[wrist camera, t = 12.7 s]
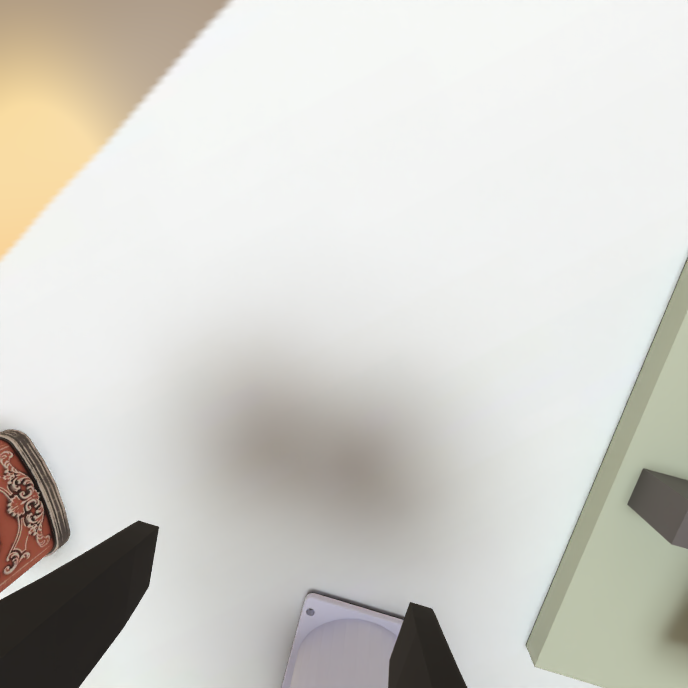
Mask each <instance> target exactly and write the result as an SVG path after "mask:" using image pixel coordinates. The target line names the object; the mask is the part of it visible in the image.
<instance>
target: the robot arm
mask: <svg viewBox="0 0 688 688" xmlns="http://www.w3.org/2000/svg"><path fill="white" fill-rule="evenodd" d="M158 529H159V527H158V526H155V525H151V524H148V523H145V522H141V521H137V522H135V523H133V524H132V525H130V526H128V527H127V528H125V529H123V530H122V531H120V532H118V533H117V534H115V535H113V536H112V537H110V538H108V539H107V540H105V541H104V542H102V543H100V544H99V545H97V546H95V547H94V548H92V549H90V550H89V551H87V552H85V553H84V554H82V555H80V556H78V557H77V558H75V559H73V560H72V561H70V562H68V563H66V564H65V565H63V566H61V567H59V568H58V569H56V570H54V571H53V572H51V573H49V574H47V575H46V576H44V577H42V578H40V579H38V580H36V581H35V582H33V583H31V584H29V585H27V586H25V587H23V588H22V589H20V590H18V591H16V592H14V593H12V594H10V595H8V596H7V597H5V598H3V599H1V600H0V688H79V686H80V685H81V684H82V682H83V681H84V680H85V678H86V677H87V676H88V674H89V673H90V672H91V671H92V669H93V668H94V667H95V665H96V664H97V663H98V661H99V660H100V659H101V657H102V656H103V655H104V653H105V652H106V651H107V649H108V648H109V647H110V645H111V644H112V643H113V641H114V640H115V638H116V637H117V636H118V634H119V633H120V632H121V630H122V629H123V628H124V626H125V624H126V623H127V621H128V620H129V618H130V617H131V615H132V613H133V612H134V610H135V609H136V607H137V605H138V604H139V602H140V600H141V599H142V597H143V595H144V594H145V592H146V590H147V589H148V587H149V583H150V577H151V571H152V565H153V559H154V553H155V547H156V541H157V535H158ZM309 608H310V609H313V610H309ZM281 688H467V686H466V684H465V682H464V680H463V677H462V675H461V673H460V671H459V669H458V666H457V664H456V662H455V660H454V657H453V655H452V653H451V651H450V648H449V646H448V644H447V641H446V639H445V637H444V634H443V632H442V630H441V627H440V625H439V622H438V620H437V618H436V615H435V613H434V611H433V609H431V608H428V607H425V606H421V605H418V604H415V603H411V602H410V604H409V607H408V609H407V612H406V615H405V618H404V620H402V619H399V618H395V617H392V616H389V615H385V614H382V613H379V612H375V611H372V610H369V609H365V608H362V607H359V606H355V605H352V604H349V603H346V602H342V601H339V600H336V599H332V598H329V597H326V596H322V595H319V594H316V593H310V594H308V595H307V596H306V597H305V601H304V604H303V608H302V612H301V616H300V619H299V623H298V627H297V630H296V634H295V638H294V642H293V645H292V649H291V653H290V656H289V660H288V664H287V668H286V671H285V675H284V679H283V682H282V686H281Z"/></svg>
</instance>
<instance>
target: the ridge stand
mask: <svg viewBox="0 0 688 688" xmlns="http://www.w3.org/2000/svg"><path fill="white" fill-rule="evenodd" d="M526 647H527V649H528V652H529V654H530V657H531V659H532V662H533V664H534V667H537V668H540V669H544V670H547V671H550V672H554V673H557V674H560V675H564V676H567V677H570V678H573V679H577V680H580V681H583V682H587V683H590V684H593V685H597V686H600V687H603V688H688V259H687V262H686V264H685V266H684V269H683V271H682V274H681V276H680V278H679V281H678V283H677V285H676V288H675V290H674V293H673V295H672V297H671V300H670V302H669V305H668V307H667V309H666V312H665V314H664V317H663V319H662V321H661V324H660V326H659V329H658V331H657V333H656V336H655V338H654V340H653V343H652V345H651V348H650V350H649V352H648V355H647V357H646V360H645V362H644V364H643V367H642V369H641V372H640V374H639V376H638V379H637V381H636V384H635V386H634V388H633V391H632V393H631V396H630V398H629V400H628V403H627V405H626V407H625V410H624V412H623V415H622V417H621V419H620V422H619V424H618V427H617V429H616V431H615V434H614V436H613V439H612V441H611V443H610V446H609V448H608V451H607V453H606V455H605V458H604V460H603V462H602V465H601V467H600V470H599V472H598V474H597V477H596V479H595V482H594V484H593V486H592V489H591V491H590V494H589V496H588V498H587V501H586V503H585V506H584V508H583V510H582V513H581V515H580V517H579V520H578V522H577V525H576V527H575V529H574V532H573V534H572V537H571V539H570V541H569V544H568V546H567V549H566V551H565V553H564V556H563V558H562V561H561V563H560V565H559V568H558V570H557V572H556V575H555V577H554V580H553V582H552V584H551V587H550V589H549V592H548V594H547V596H546V599H545V601H544V604H543V606H542V608H541V611H540V613H539V616H538V618H537V620H536V623H535V625H534V627H533V630H532V632H531V635H530V637H529V639H528V642H527V644H526Z"/></svg>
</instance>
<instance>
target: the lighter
mask: <svg viewBox="0 0 688 688" xmlns="http://www.w3.org/2000/svg"><path fill="white" fill-rule="evenodd" d="M69 536H70V529H69V525H68V521H67V516H66V512H65V508H64V505H63V502H62V500H61V497H60V494H59V491H58V489H57V486H56V483H55V481H54V479H53V478H52V476H51V474H50V472H49V470H48V468H47V466H46V464H45V462H44V460H43V459H42V457H41V455H40V454H39V452H38V451H37V449H36V448H35V446H34V445H33V443H32V441H31V440H30V439H29V437H28V436H27V435H26V434H24V433H22V432H21V431H18V430H13V429H12V430H5V431H3V432H0V592H2V591H3V590H4V589H5V588H7V587H8V586H9V585H10V584H11V583H13V582H14V581H15V580H16V579H18V578H19V577H20V576H21V575H22V574H24V573H25V572H26V571H27V570H29V569H30V568H31V567H32V566H33V565H35V564H36V563H37V562H38V561H39V560H41V559H42V558H43V557H46V556H49V555H51V554H53V553H54V552H55V551H56V550H57V549H59V548H60V547H61V546H62V545H63V544H64V543H66V542H67V541H68V539H69Z"/></svg>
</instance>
